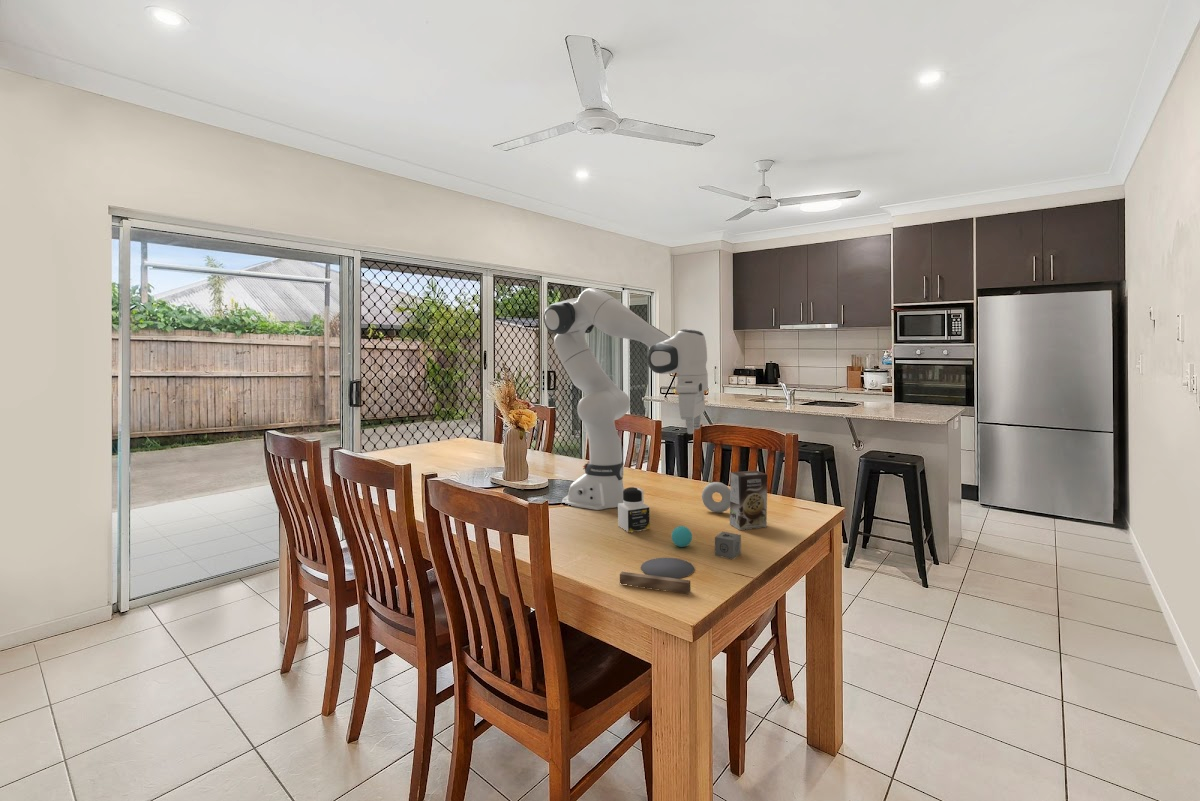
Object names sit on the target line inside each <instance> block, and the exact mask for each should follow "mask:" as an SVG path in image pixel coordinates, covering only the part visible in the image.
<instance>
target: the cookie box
mask: <svg viewBox="0 0 1200 801" xmlns="http://www.w3.org/2000/svg"><path fill="white" fill-rule="evenodd" d="M729 486H730V488H729V489H730V508H729V525H731V526H732V527H734V528H735V529H737V530H738V531H743V530H744V531H745V529H746V530H753V529H752V528H756V529H761V528H760V527H765V528H767V523H768V522H767V521H768V520H767V519H768V516H767V515H768V512H767V511H768V473H764V472H761V471H758V470H747V471H744V470H743V471H733V472H732V471H731V472H730V485H729Z"/></svg>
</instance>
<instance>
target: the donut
mask: <svg viewBox="0 0 1200 801" xmlns="http://www.w3.org/2000/svg"><path fill="white" fill-rule="evenodd" d="M715 493H718V494H720V496H721V500H720V501H715V499H713V495H714V494H715ZM701 500H702V503H703V506H704V507H705V508H706V509H708V510H709V511H710V512H713V513H716V514H719V513H724V512H726V511H727V510H730V488H729V487H728V485H727V484H724V483H723V482H719V481H713V482H710V483H708V484H706V485H705V486H704V488H703V490H702V491H701Z"/></svg>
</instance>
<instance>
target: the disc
mask: <svg viewBox="0 0 1200 801" xmlns="http://www.w3.org/2000/svg"><path fill="white" fill-rule="evenodd" d="M640 570H641V572H642V571H643V572H642V573H643V574H645V573H646V574H645V575H647V574H648V575H652V576H660V577H668V578H676V579H683V578H686V577H689V576H690V575H691V576H692V574H693V573H694V572H695V566H694V565H693V564H692V563H691V562H689V561H687V560H684V559H680V558H678V557H677V558H675V557H657V558H656V557H655V558H651V559H647V560H646V561H644V562H642V564H641V566H640Z"/></svg>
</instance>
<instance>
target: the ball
mask: <svg viewBox="0 0 1200 801" xmlns="http://www.w3.org/2000/svg"><path fill="white" fill-rule="evenodd" d="M671 540H672V543H673V544H674V545H676V546H677V547H680V548H683V547H687V546H689V545H690V544H691V542H692V540H693V534H692V531H691V530H690V529H689V528H688V527H687V526H684V525H679V526H676V527H674V529H673V530H672V532H671Z"/></svg>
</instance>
